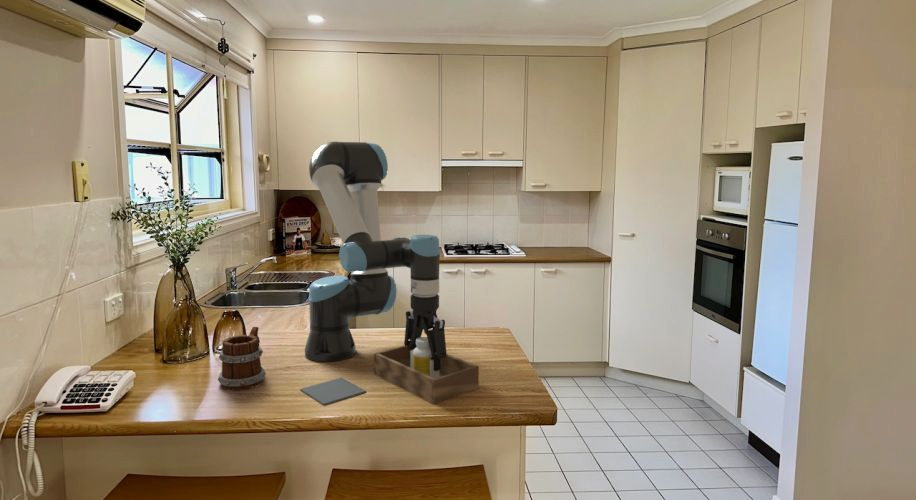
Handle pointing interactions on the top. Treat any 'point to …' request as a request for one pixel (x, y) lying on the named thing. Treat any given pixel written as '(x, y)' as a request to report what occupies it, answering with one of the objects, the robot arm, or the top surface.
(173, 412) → the top surface
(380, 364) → the box frame
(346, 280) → the robot arm
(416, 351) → the pill bottle
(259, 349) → the mug
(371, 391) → the top surface
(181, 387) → the top surface
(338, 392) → the slate mat
